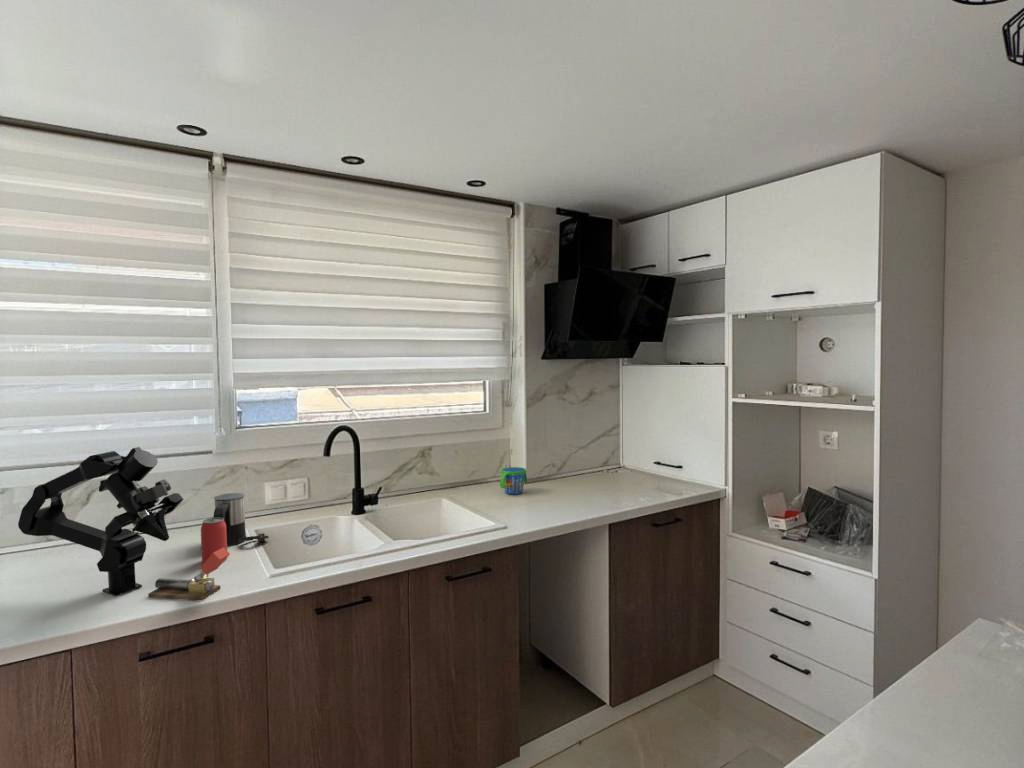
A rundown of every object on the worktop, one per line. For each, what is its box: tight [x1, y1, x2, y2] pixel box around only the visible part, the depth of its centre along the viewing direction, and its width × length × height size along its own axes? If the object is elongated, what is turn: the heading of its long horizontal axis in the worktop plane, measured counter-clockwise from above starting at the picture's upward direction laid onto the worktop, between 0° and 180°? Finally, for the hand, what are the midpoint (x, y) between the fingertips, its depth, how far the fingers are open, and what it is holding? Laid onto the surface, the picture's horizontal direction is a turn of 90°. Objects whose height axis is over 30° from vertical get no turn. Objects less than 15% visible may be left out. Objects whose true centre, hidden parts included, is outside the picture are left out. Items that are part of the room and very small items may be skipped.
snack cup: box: [499, 466, 528, 496], centre depth 243 cm, size 16×10×10 cm
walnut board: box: [147, 584, 221, 601], centre depth 144 cm, size 14×7×1 cm, turn 81°
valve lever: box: [193, 547, 231, 582], centre depth 142 cm, size 2×4×9 cm
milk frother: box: [212, 492, 270, 546], centre depth 183 cm, size 14×16×15 cm
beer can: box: [200, 517, 228, 564], centre depth 166 cm, size 7×7×12 cm
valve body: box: [154, 577, 215, 594], centre depth 144 cm, size 14×4×3 cm, turn 81°
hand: (167, 539), depth 144 cm, fingers closed
